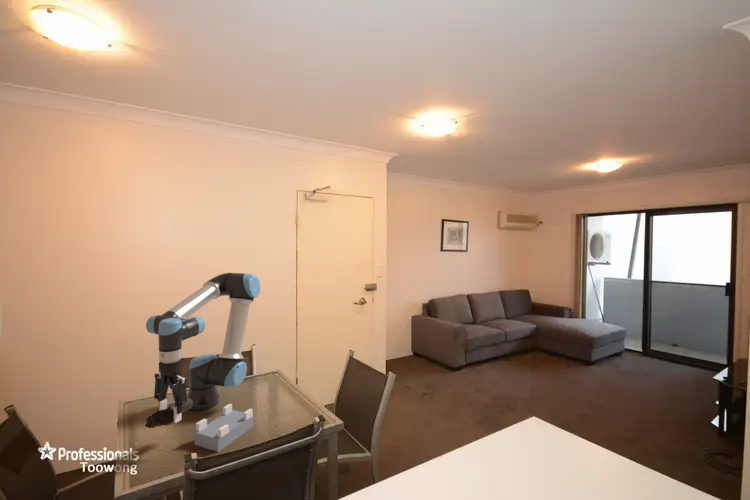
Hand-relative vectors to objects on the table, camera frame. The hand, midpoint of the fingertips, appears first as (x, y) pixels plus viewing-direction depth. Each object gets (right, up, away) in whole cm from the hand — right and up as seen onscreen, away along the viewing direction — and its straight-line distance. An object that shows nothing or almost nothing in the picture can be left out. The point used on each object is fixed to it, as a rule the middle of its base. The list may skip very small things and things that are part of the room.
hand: (170, 419), depth 135 cm
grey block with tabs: (+16, -12, +11) cm, 23 cm away
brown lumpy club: (0, -1, 0) cm, 1 cm away
